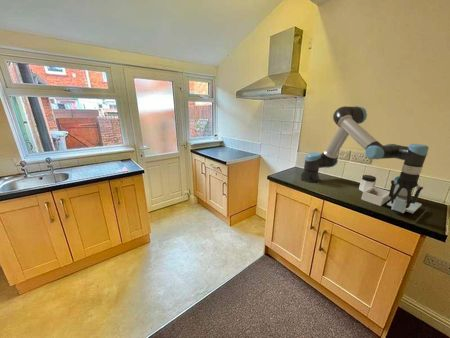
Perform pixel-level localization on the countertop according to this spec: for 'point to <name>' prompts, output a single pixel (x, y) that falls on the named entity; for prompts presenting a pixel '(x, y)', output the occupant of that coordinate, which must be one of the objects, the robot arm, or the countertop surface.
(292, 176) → the countertop surface
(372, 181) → the jar
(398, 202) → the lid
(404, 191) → the green capped bottle
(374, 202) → the tub
